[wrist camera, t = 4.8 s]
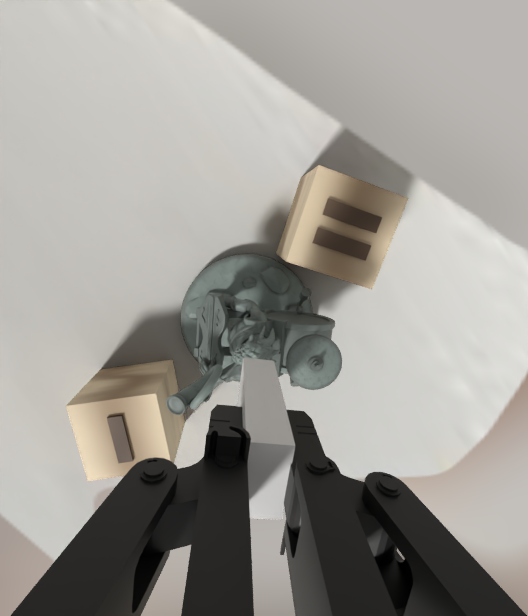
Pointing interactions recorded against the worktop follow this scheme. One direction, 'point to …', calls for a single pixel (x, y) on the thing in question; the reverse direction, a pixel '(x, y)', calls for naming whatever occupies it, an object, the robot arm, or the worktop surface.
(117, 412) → the marked cube
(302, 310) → the figurine
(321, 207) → the marked cube
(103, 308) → the worktop surface
